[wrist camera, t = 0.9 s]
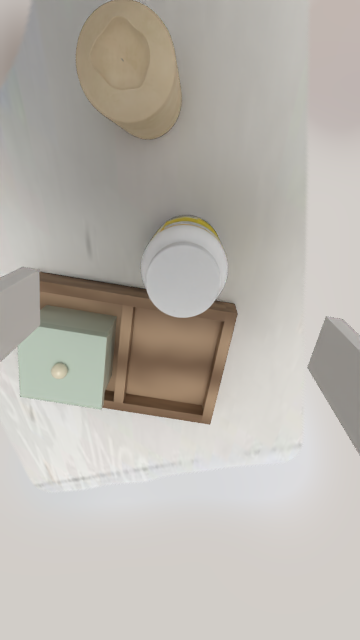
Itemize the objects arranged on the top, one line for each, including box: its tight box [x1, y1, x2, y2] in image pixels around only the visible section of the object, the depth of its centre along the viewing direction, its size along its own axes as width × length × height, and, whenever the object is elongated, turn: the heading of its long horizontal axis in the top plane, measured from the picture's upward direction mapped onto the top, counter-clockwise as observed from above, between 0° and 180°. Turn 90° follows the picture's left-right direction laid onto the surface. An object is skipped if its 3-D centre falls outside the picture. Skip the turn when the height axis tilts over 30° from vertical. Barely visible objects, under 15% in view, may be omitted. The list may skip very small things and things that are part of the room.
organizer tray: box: [39, 272, 238, 424], centre depth 33 cm, size 13×20×2 cm, turn 81°
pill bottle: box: [141, 215, 228, 318], centre depth 25 cm, size 6×6×11 cm
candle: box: [76, 0, 182, 139], centre depth 21 cm, size 6×6×10 cm
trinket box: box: [18, 305, 117, 409], centre depth 31 cm, size 8×8×6 cm
